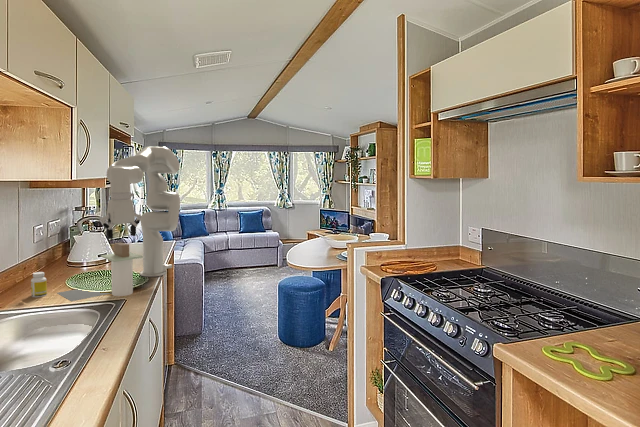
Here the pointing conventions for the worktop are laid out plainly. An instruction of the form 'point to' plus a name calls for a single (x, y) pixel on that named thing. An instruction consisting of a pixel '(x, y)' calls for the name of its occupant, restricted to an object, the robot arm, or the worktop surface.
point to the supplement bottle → (38, 285)
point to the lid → (121, 253)
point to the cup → (122, 277)
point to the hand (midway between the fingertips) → (121, 237)
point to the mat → (79, 294)
